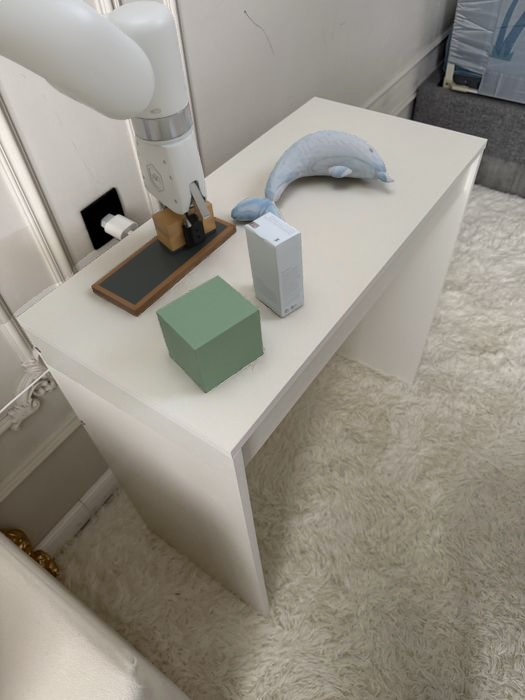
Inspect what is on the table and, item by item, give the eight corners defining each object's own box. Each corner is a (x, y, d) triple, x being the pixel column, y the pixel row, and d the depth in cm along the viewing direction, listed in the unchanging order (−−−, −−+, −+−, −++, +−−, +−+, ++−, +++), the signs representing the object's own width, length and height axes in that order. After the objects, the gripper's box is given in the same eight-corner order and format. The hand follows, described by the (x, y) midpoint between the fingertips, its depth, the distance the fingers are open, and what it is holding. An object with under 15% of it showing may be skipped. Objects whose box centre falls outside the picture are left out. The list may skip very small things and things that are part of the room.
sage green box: (205, 393, 62) (194, 350, 56) (169, 355, 66) (155, 311, 60) (263, 353, 66) (259, 309, 60) (225, 319, 70) (217, 274, 64)
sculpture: (315, 280, 80) (402, 185, 89) (317, 248, 73) (411, 148, 82) (227, 229, 86) (316, 144, 95) (221, 194, 79) (318, 107, 88)
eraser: (173, 254, 77) (166, 227, 74) (159, 242, 80) (151, 215, 76) (216, 231, 80) (212, 203, 77) (201, 220, 82) (196, 192, 79)
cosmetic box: (305, 304, 71) (305, 230, 62) (280, 320, 69) (276, 247, 60) (276, 281, 74) (272, 208, 65) (251, 296, 72) (243, 224, 63)
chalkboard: (137, 316, 71) (134, 310, 70) (93, 292, 75) (90, 286, 74) (236, 231, 82) (235, 225, 81) (193, 213, 86) (192, 207, 85)
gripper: (104, 108, 69) (138, 223, 83) (173, 155, 60) (198, 274, 74) (152, 89, 72) (177, 203, 86) (225, 131, 63) (240, 250, 77)
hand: (187, 235), depth 80 cm, fingers closed on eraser, 4 cm apart
